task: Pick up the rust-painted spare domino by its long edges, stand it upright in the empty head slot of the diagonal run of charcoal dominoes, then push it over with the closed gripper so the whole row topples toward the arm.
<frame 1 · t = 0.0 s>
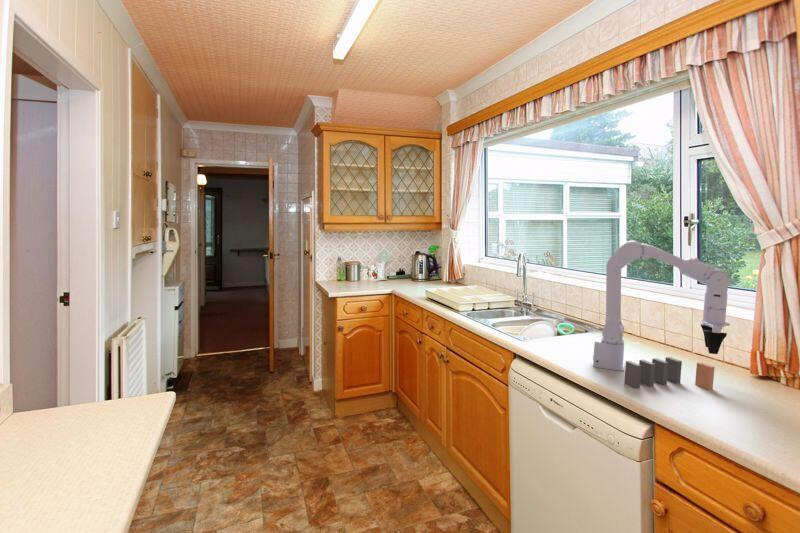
hand: (711, 350, 138), 10 cm above the countertop, fingers open, 7 cm apart
domino 4: (645, 383, 136), on the countertop
domino 5: (631, 385, 134), on the countertop
domino 2: (672, 380, 139), on the countertop
domino 3: (658, 382, 137), on the countertop
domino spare: (703, 386, 134), on the countertop
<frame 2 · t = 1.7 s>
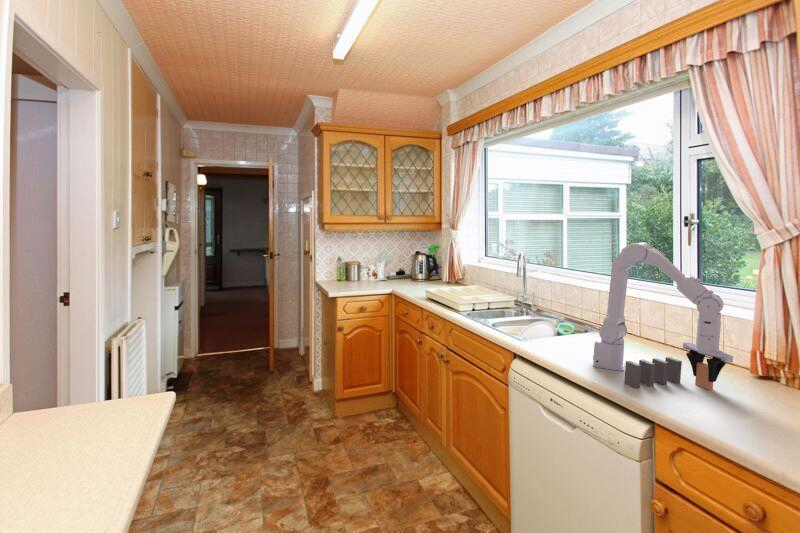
hand: (704, 378, 133), 3 cm above the countertop, fingers closed on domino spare, 4 cm apart
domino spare: (703, 386, 133), on the countertop, touching gripper
everything else where it was.
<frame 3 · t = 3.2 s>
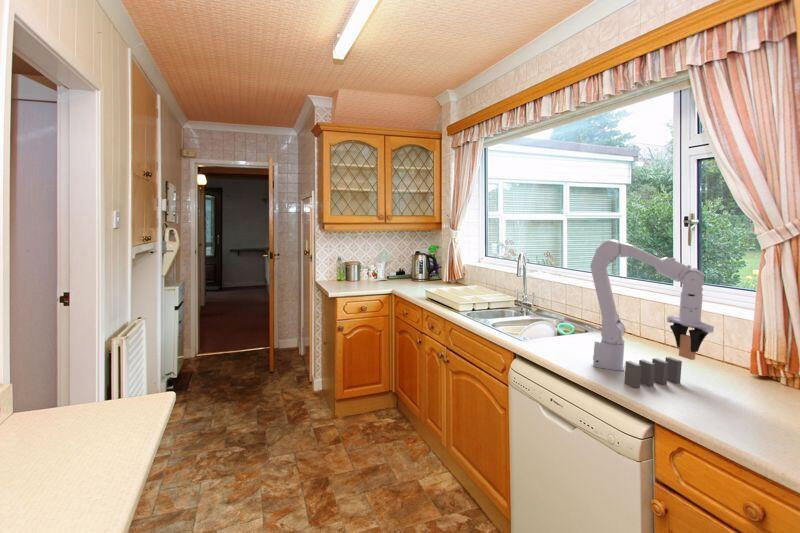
hand: (687, 349, 139), 10 cm above the countertop, fingers closed on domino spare, 4 cm apart
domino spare: (686, 357, 139), point 7 cm above the countertop, touching gripper
everything else where it was.
when the fingers open (4 cm above the countertop, at t = 4.7 s): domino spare drops 1 cm, on the countertop.
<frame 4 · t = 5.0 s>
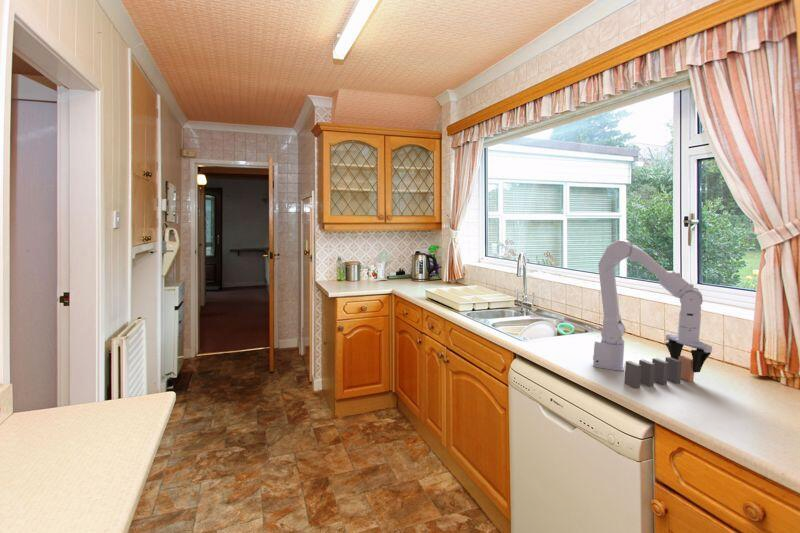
hand: (685, 368, 140), 4 cm above the countertop, fingers open, 7 cm apart
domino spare: (685, 379, 140), on the countertop
everything else where it was.
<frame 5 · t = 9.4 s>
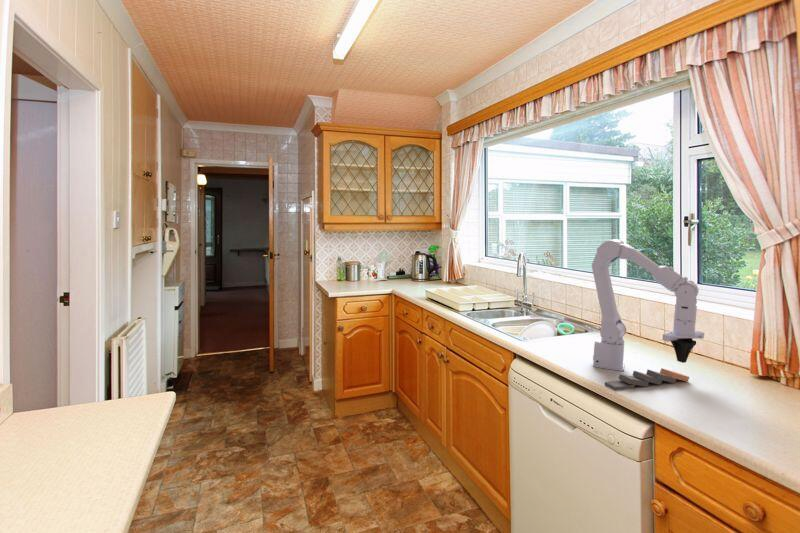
hand: (681, 361, 139), 6 cm above the countertop, fingers closed
domino 4: (642, 381, 135), point 1 cm above the countertop, tilted 77°, touching domino 3
domino 5: (629, 384, 134), on the countertop, tilted 90°
domino 2: (669, 378, 138), point 1 cm above the countertop, tilted 72°, touching domino 3, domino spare
domino 3: (655, 380, 137), point 1 cm above the countertop, tilted 71°, touching domino 2, domino 4
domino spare: (682, 377, 140), point 1 cm above the countertop, tilted 73°, touching domino 2
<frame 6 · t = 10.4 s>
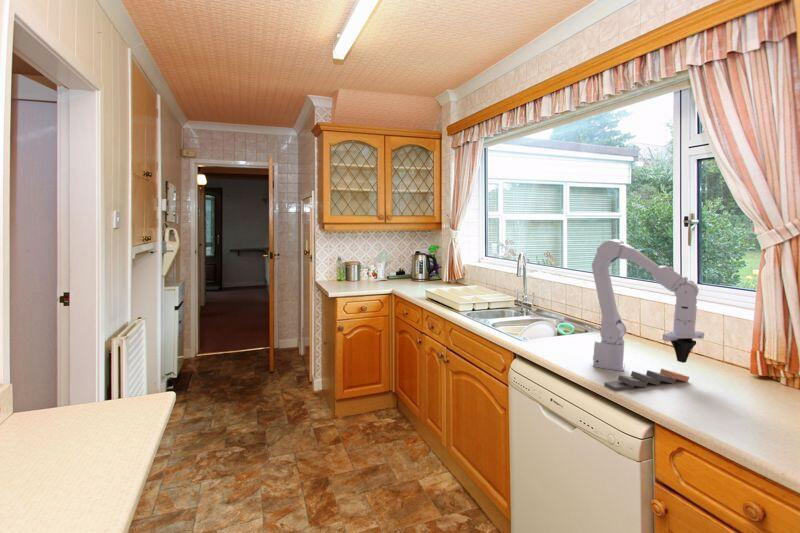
hand: (681, 361, 139), 6 cm above the countertop, fingers closed
domino 4: (640, 382, 135), point 1 cm above the countertop, tilted 77°, touching domino 3, domino 5
domino 5: (628, 385, 134), on the countertop, tilted 90°, touching domino 4
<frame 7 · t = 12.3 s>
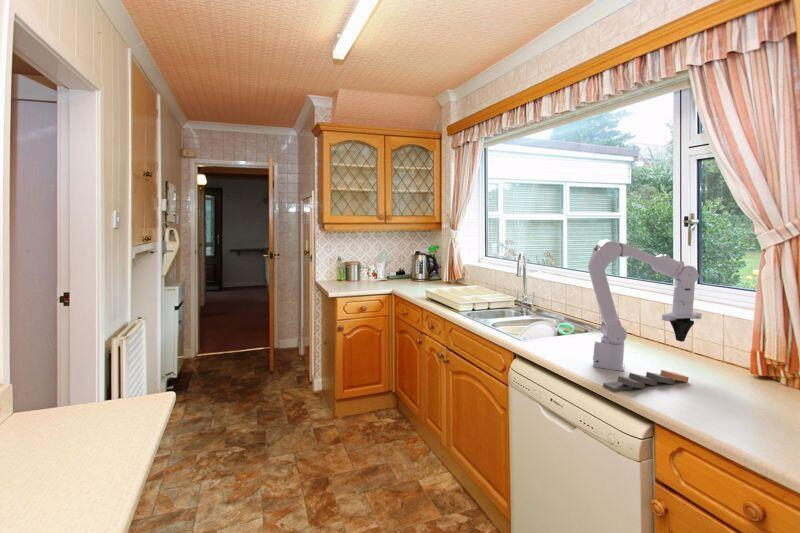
hand: (680, 340, 147), 10 cm above the countertop, fingers closed
domino 4: (637, 383, 133), point 1 cm above the countertop, tilted 73°
domino 5: (626, 385, 133), on the countertop, tilted 90°
domino 3: (650, 381, 136), point 1 cm above the countertop, tilted 73°, touching domino 2
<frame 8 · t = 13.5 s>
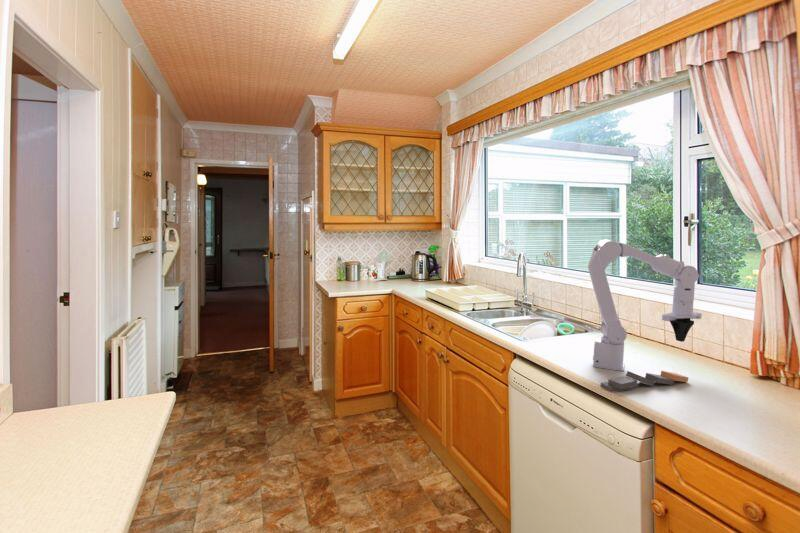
hand: (680, 340, 147), 10 cm above the countertop, fingers closed
domino 4: (630, 380, 133), point 2 cm above the countertop, tilted 90°
domino 2: (667, 380, 137), point 1 cm above the countertop, tilted 76°, touching domino 3
domino 3: (647, 381, 135), point 1 cm above the countertop, tilted 67°, touching domino 2
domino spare: (680, 377, 139), point 1 cm above the countertop, tilted 75°
at the end: domino 5 tilted 90°; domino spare tilted 75°; the gripper is holding nothing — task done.
